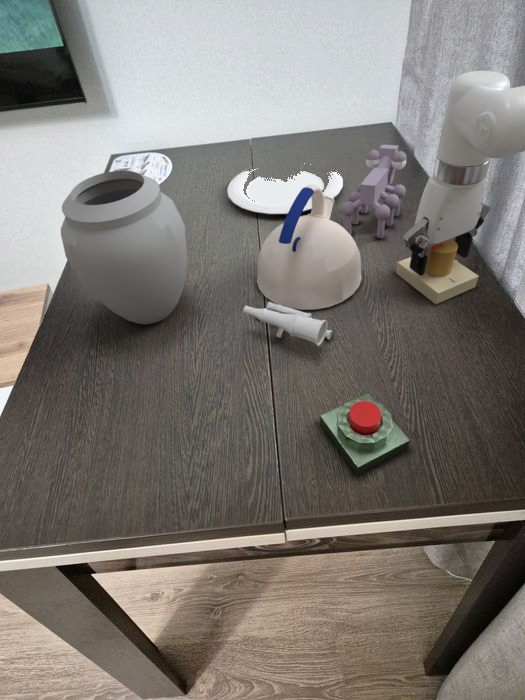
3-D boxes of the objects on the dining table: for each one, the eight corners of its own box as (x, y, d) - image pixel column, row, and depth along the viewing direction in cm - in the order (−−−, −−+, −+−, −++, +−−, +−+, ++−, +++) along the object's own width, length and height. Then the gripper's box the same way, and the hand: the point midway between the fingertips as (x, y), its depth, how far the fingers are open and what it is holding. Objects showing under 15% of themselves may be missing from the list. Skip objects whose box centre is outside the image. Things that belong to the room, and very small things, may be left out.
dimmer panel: (475, 287, 79) (479, 275, 77) (435, 304, 77) (438, 292, 75) (433, 257, 86) (436, 246, 84) (395, 273, 84) (397, 261, 82)
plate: (350, 215, 100) (351, 207, 99) (224, 225, 102) (223, 217, 101) (336, 161, 120) (336, 154, 119) (231, 171, 122) (230, 164, 121)
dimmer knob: (438, 257, 82) (444, 232, 78) (457, 270, 78) (464, 245, 75) (416, 266, 80) (421, 241, 77) (435, 280, 77) (441, 254, 73)
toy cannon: (255, 328, 79) (263, 299, 79) (326, 351, 74) (336, 321, 73) (234, 324, 72) (244, 293, 71) (312, 350, 66) (323, 316, 66)
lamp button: (386, 426, 56) (388, 418, 55) (360, 439, 55) (361, 431, 54) (368, 404, 59) (369, 396, 58) (342, 416, 58) (343, 408, 57)
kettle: (375, 257, 88) (385, 168, 75) (340, 322, 76) (345, 230, 63) (283, 240, 95) (278, 156, 82) (238, 297, 83) (223, 209, 70)
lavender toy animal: (369, 193, 106) (374, 134, 97) (413, 200, 102) (423, 139, 92) (336, 234, 95) (339, 172, 85) (384, 244, 91) (393, 180, 81)
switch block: (407, 449, 58) (412, 432, 55) (356, 476, 56) (358, 460, 53) (367, 401, 63) (369, 384, 61) (319, 424, 62) (319, 407, 59)
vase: (101, 291, 88) (48, 172, 71) (196, 270, 90) (167, 150, 73) (98, 358, 75) (32, 232, 57) (210, 332, 77) (178, 203, 59)
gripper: (485, 145, 71) (460, 238, 83) (398, 175, 67) (385, 268, 79) (523, 161, 66) (491, 257, 78) (432, 194, 62) (413, 290, 74)
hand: (438, 262), depth 78 cm, fingers open, 9 cm apart
